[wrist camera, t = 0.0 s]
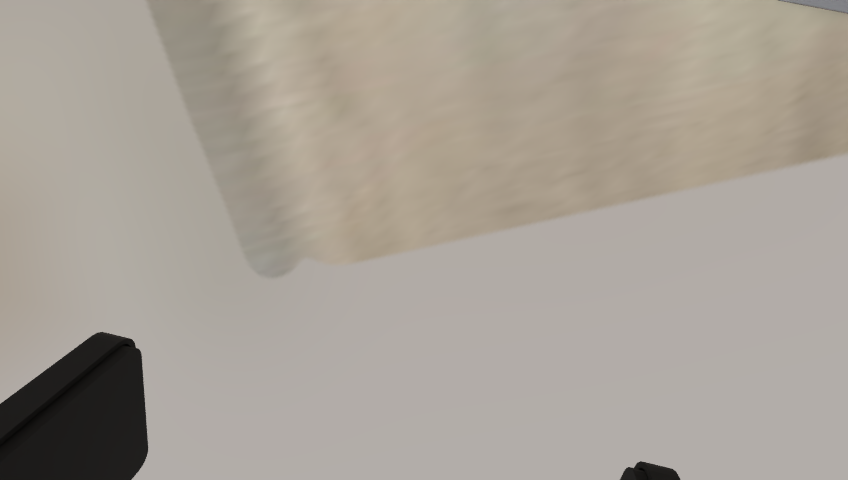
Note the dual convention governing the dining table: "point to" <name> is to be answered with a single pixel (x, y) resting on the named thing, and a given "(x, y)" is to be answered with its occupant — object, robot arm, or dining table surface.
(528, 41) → the dining table surface
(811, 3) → the mat
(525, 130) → the dining table surface
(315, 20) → the dining table surface
